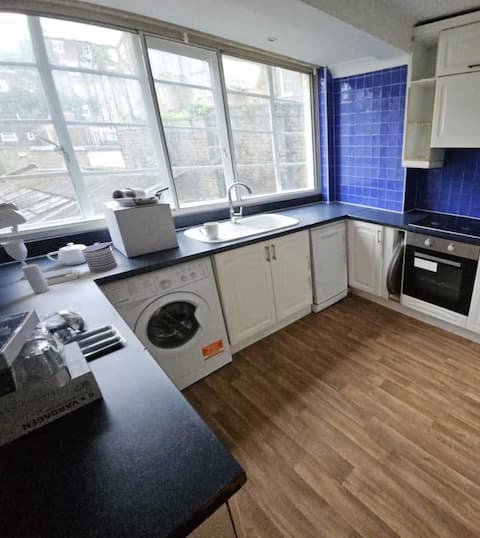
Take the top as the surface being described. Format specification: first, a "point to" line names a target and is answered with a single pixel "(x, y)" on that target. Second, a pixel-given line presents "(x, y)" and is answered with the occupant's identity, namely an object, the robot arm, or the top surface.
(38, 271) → the beverage can
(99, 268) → the grey ribbed cylinder
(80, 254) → the teapot
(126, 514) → the top surface
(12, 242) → the chalice
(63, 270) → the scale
